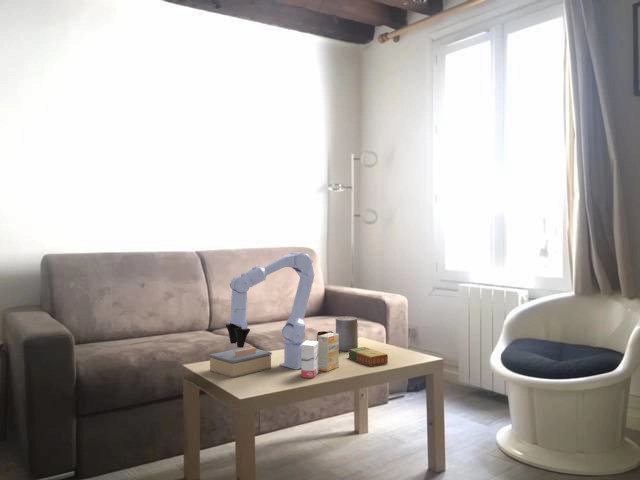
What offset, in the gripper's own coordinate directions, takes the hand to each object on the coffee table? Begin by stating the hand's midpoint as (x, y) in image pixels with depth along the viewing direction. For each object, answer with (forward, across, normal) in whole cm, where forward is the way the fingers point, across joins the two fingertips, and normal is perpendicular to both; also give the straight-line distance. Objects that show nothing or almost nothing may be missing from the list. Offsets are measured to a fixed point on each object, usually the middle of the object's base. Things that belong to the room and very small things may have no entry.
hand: (236, 345), depth 207 cm
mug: (+8, 0, +38) cm, 39 cm away
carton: (+8, +9, +53) cm, 54 cm away
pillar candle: (+7, -14, +56) cm, 58 cm away
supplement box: (+8, +12, +33) cm, 36 cm away
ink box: (+9, +16, +23) cm, 29 cm away
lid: (+5, -3, +3) cm, 6 cm away
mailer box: (+10, -3, +3) cm, 11 cm away
